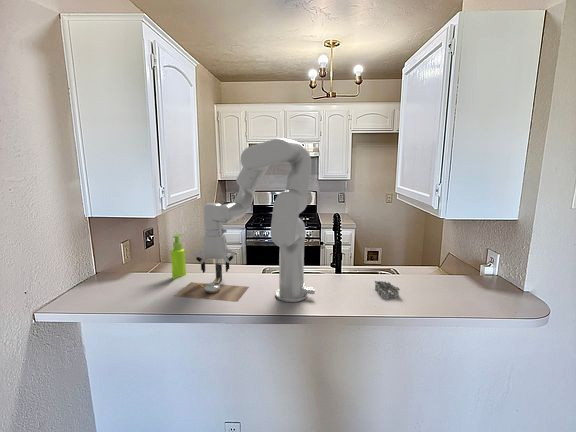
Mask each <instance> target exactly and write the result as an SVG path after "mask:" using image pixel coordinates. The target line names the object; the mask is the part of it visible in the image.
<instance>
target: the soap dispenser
mask: <svg viewBox="0 0 576 432" xmlns="http://www.w3.org/2000/svg"><path fill="white" fill-rule="evenodd" d="M181 236H183V233H182V234H181V233H180V234H179V233H176V234H175V235H173V238H174V242H172V243H173V248H172V249H171V250H170V260H171V273H172V280H176V279H177V278H182V277H184V276H186V275H187V269H186V253H185V252H186V251H185V250H186V249H185V248H182V241H180V237H181Z"/></svg>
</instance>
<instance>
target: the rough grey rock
mask: <svg viewBox="0 0 576 432" xmlns="http://www.w3.org/2000/svg"><path fill="white" fill-rule="evenodd" d="M388 288H390V289H388ZM374 290H375V291H377V294H378V293H379V295H380V297H381V298H384V297H385V298H384V299H389V298H393V297H394V298H393V299H397V298H398V297H399V294H400V293H399V291H401V289H400V287H398V286H395V285H394V284H391V282H390V281H388V282H387V281H380V280H379V281H377V280H374ZM388 291H389V292H388ZM391 291H392V292H391ZM397 296H398V297H397ZM388 297H389V298H388Z"/></svg>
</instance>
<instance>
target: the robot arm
mask: <svg viewBox="0 0 576 432" xmlns="http://www.w3.org/2000/svg"><path fill="white" fill-rule="evenodd" d="M240 163H241V165H242V168H241V170H240V172H239V173H238V176H237V177H236V183H237V185H238V186H239V189H238V193H237V194H236V197H235V199H234V200H233V201H232V202H229V203H226V204H221V203H219V202H208V203H205V204H204V205H203V220H204V221H203V222H204V223H203V224H204V234H203V238H202V248H200V249H199V250H196V251H195V252H194V253H193V256H194V258H195V260H196V261H198V262H199V264H200V270H201V271H202V273H203V274H204V273H205V272H206V262H205V261H206V260H224V261H225V273H228V271H229V270H230V263H231V261H232V260H233V259H234V256H235V255H236V251H235V250H233V249H231V248H228V243H227V237H226V234H225V233H227V229H224V224H228V223H232V222H235V221H237V220H240V219H242V218H243V217H244V216H245V215H246V214H247V212H248V210H249V209H250V207H251V206H252V203H253V202H254V198H255V195H256V189H257V188H258V187H259V184H260V182H261V181H262V180H263V178H264V176H265V174H266V173H267V171H268V170H269V168H270V167H271V166H275V165H279V164H288V165H289V169H288V172H287V176H286V185H285V188H284V189H285V190H282V191H281V192H279V193H278V194H277V196H276V198H275V199H274V201H273V207H272V215H271V221H270V222H271V224H270V238H271V240H272V243H274V245H276V246H277V247H279V250H278V251H279V257H278V258H279V259H278V262H279V263H278V265H279V266H278V267H279V271H278V273H279V277H278V278H279V282H278V283H279V285H278V287H279V288H278V289H277V290H276V291H275V297H276V298H277V299H278V300H279V301H281V302H285V303H298V302H302V301H304V300H306V299H307V297H308V294H309V295H315V292H316V289H314V288H313V287H312V286H306V283H305V282H304V281H305V279H304V274H305V273H304V271H305V259H304V258H305V241H306V230H307V229H306V225H305V222H304V221H303V219H301V218H300V217H299V216H300V214H301V213H302V212H304V211H305V210H306V208H307V207H308V197H309V190H310V181H311V174H312V157H311V155H310V152H309V151H308V149H307V148H306V147H305V146H304V145H303V144H301V143H300V142H298V141H295V140H293V139H288V138H283V137H282V138H281V137H277V138H274V139H269V140H267V141H264V142H261V143H258V144H254V145H250V146H248V147H246V148H244V150H243V151H242V153H241V155H240ZM200 254H201V255H202V257H200V256H199V255H200ZM228 254H230V256H228Z"/></svg>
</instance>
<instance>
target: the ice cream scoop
mask: <svg viewBox="0 0 576 432" xmlns="http://www.w3.org/2000/svg"><path fill="white" fill-rule="evenodd" d="M214 266H215V278H214V280H213V282H209V283H207V284H206V285H205V292H206V293H209V294H213V293H217V292H219V291H220V285H221V284H220V282H222V281H223V269H222V267H223V264H222V262H219V263H218V262H217V263H215V265H214Z"/></svg>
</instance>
